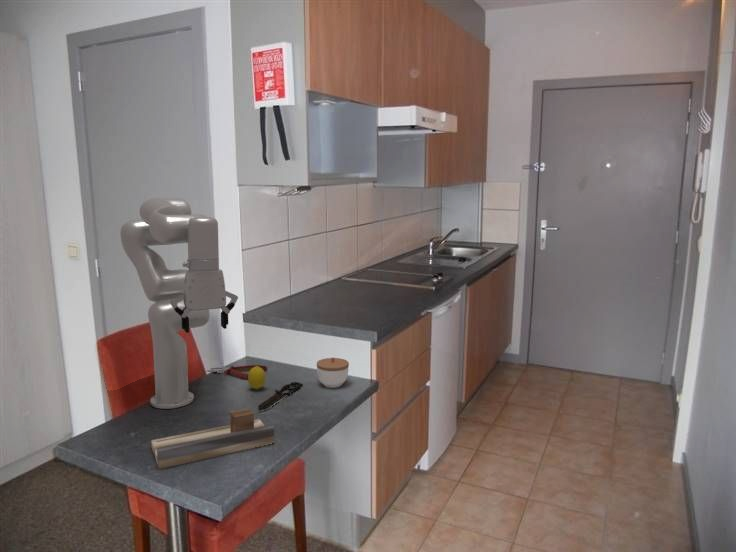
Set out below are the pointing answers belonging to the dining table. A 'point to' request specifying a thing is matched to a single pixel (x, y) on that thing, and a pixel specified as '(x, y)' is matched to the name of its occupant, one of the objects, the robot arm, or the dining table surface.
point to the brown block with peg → (241, 420)
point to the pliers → (237, 370)
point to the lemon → (256, 377)
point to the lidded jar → (332, 371)
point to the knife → (279, 393)
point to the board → (205, 454)
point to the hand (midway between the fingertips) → (205, 329)
